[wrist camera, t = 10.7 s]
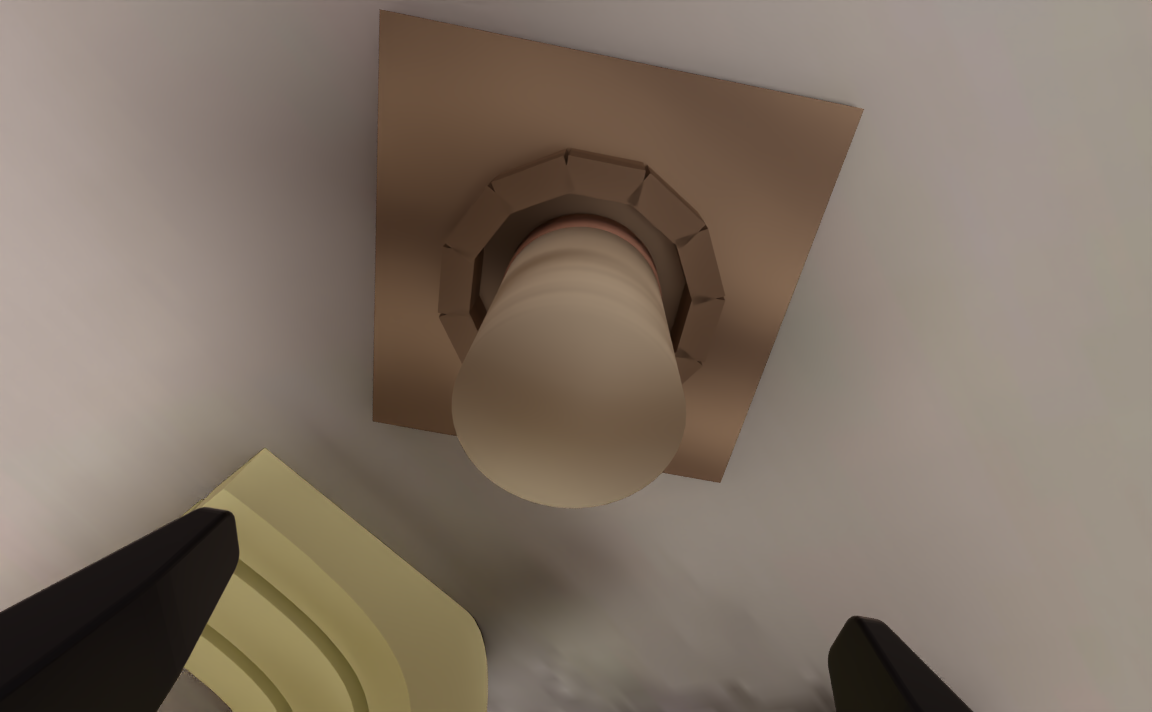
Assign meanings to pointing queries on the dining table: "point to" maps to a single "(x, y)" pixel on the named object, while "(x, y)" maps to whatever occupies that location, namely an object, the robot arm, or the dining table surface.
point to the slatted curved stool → (328, 612)
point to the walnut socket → (588, 206)
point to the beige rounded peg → (573, 370)
